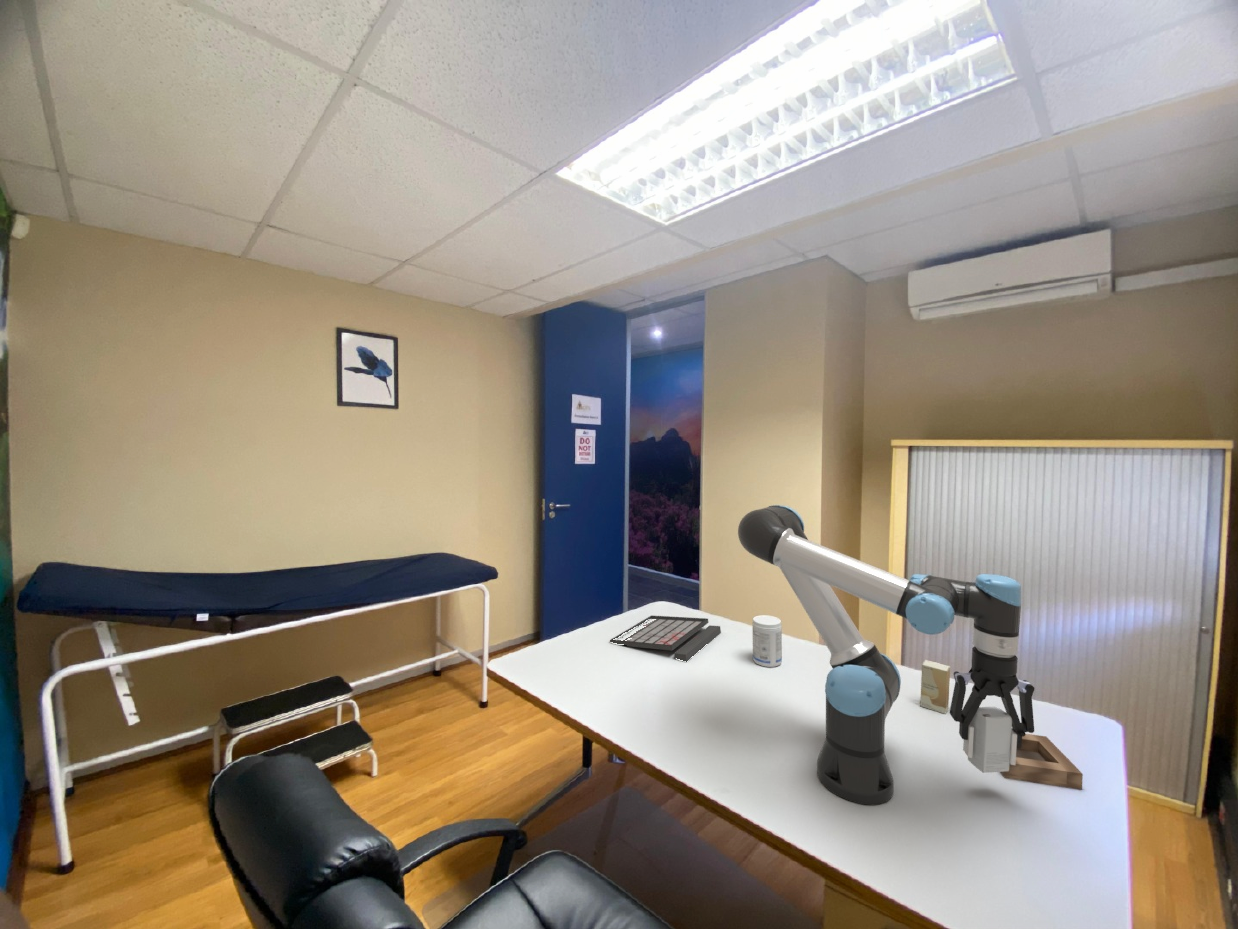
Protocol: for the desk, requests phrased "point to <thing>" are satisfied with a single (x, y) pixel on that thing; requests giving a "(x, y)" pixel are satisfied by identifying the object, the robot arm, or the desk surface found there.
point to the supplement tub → (767, 641)
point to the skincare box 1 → (935, 686)
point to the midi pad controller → (672, 635)
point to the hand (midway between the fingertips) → (988, 757)
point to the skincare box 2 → (991, 740)
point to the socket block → (1043, 764)
